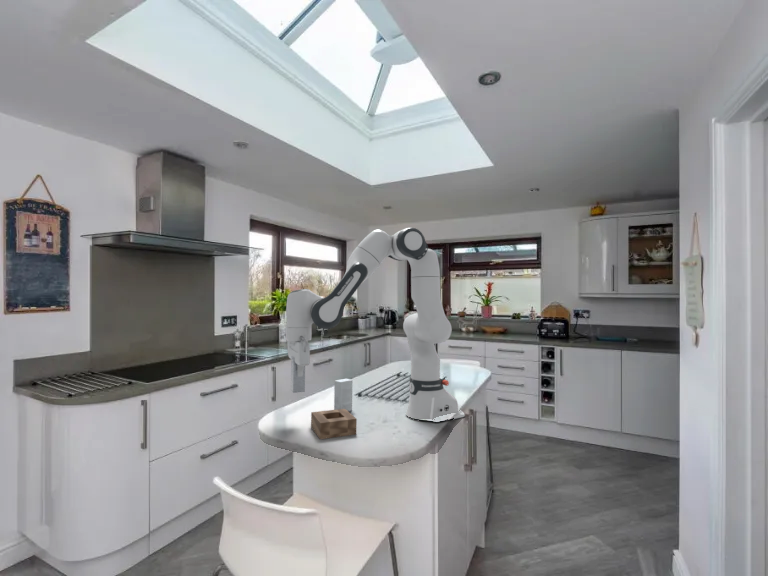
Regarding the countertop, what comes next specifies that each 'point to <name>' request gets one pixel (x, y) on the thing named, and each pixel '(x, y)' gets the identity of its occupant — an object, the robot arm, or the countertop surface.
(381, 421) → the countertop surface
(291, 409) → the countertop surface
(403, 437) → the countertop surface
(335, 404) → the skincare box
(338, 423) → the walnut socket block
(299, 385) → the metal peg
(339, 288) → the robot arm
